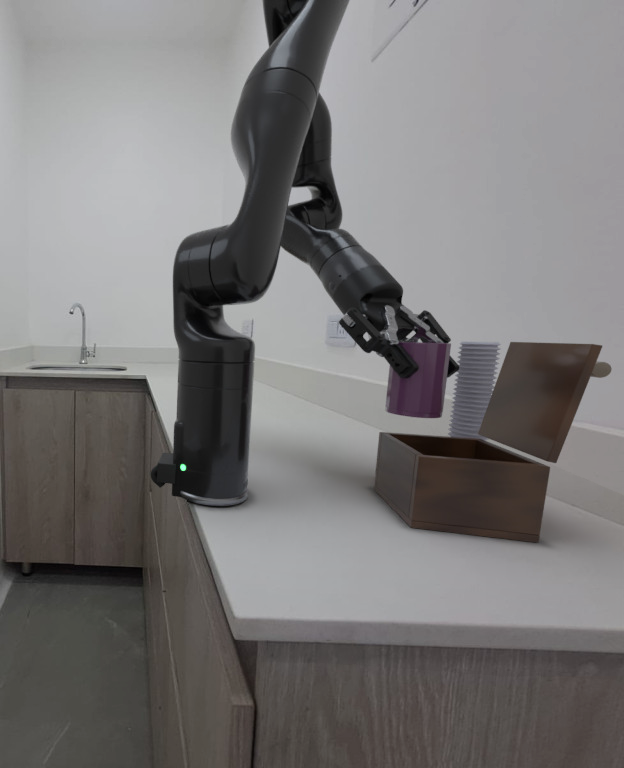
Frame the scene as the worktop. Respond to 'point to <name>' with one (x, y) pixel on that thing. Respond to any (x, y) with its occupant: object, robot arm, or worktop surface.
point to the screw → (473, 387)
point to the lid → (540, 395)
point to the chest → (461, 485)
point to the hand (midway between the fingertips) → (431, 373)
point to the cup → (420, 382)
